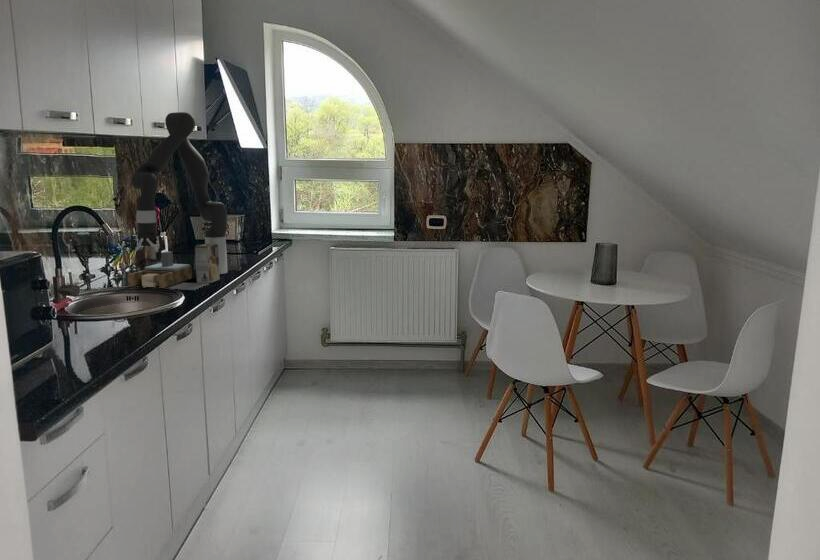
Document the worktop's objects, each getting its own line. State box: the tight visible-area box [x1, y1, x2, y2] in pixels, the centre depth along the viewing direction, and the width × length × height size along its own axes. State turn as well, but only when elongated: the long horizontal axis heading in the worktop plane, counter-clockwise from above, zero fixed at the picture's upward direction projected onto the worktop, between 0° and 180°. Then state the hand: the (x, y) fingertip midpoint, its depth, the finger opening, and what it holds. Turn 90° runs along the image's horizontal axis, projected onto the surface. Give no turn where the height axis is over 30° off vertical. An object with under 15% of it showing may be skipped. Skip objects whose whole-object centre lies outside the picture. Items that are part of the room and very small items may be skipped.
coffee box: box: [194, 243, 221, 284], centre depth 275 cm, size 9×6×16 cm
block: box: [141, 274, 159, 288], centre depth 265 cm, size 5×5×5 cm
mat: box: [168, 282, 210, 291], centre depth 264 cm, size 12×12×1 cm
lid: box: [144, 251, 191, 271], centre depth 276 cm, size 11×15×7 cm
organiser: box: [127, 265, 193, 289], centre depth 272 cm, size 24×15×6 cm, turn 170°
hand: (148, 260), depth 263 cm, fingers open, 8 cm apart
